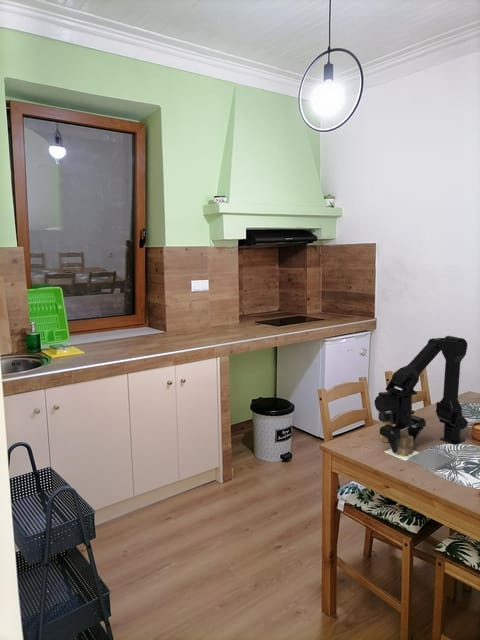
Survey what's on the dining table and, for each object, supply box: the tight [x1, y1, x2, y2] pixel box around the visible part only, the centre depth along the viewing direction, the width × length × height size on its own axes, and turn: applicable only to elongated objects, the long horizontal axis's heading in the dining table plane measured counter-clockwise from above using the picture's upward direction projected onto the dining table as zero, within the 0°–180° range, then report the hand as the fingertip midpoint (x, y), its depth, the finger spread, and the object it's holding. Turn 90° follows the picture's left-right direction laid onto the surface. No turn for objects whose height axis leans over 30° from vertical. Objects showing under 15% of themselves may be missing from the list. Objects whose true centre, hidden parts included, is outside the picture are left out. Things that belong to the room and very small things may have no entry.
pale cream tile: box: [384, 447, 421, 462], centre depth 164 cm, size 9×9×1 cm
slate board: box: [408, 448, 455, 472], centre depth 157 cm, size 11×10×1 cm
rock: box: [378, 421, 393, 443], centre depth 177 cm, size 11×9×10 cm
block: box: [392, 432, 414, 457], centre depth 163 cm, size 5×5×6 cm
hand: (402, 449), depth 164 cm, fingers open, 9 cm apart
